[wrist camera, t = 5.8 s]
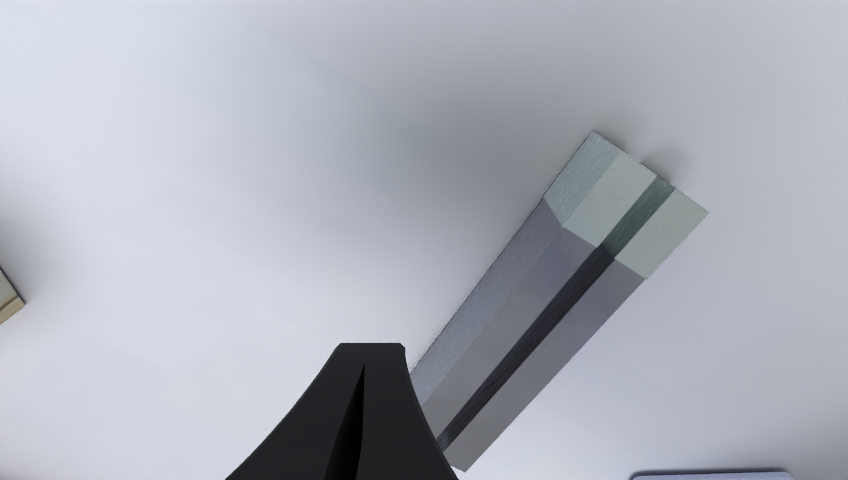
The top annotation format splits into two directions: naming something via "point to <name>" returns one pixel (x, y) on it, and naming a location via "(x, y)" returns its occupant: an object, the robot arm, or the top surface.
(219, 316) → the top surface
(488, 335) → the tongs moving leg
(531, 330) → the bar
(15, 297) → the skincare box
